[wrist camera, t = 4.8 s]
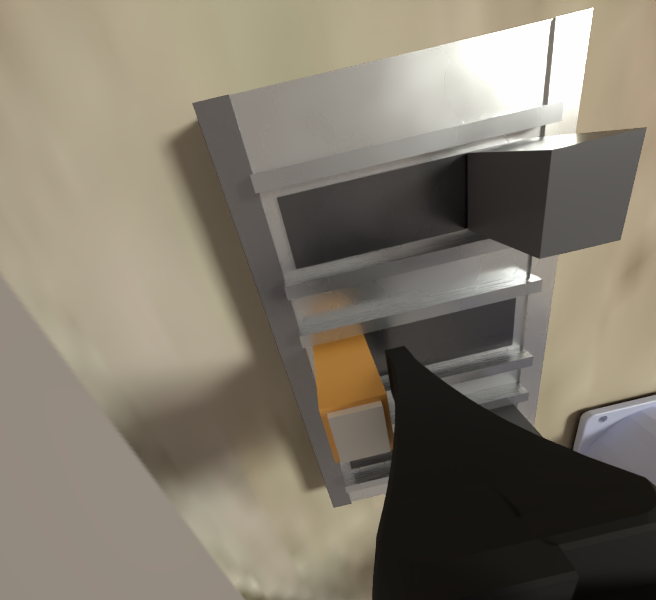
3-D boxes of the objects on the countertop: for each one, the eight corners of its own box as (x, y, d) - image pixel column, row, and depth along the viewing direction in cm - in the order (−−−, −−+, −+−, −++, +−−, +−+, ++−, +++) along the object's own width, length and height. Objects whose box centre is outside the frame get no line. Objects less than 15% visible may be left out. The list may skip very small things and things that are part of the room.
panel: (547, 31, 9) (614, -3, 7) (510, 436, 18) (537, 471, 16) (208, 111, 9) (184, 98, 7) (330, 479, 18) (334, 519, 16)
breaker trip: (362, 333, 11) (388, 398, 8) (371, 380, 13) (397, 454, 9) (312, 345, 11) (319, 415, 8) (325, 391, 13) (336, 469, 9)
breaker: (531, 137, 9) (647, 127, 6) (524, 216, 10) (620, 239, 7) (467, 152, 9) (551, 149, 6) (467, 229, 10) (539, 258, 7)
